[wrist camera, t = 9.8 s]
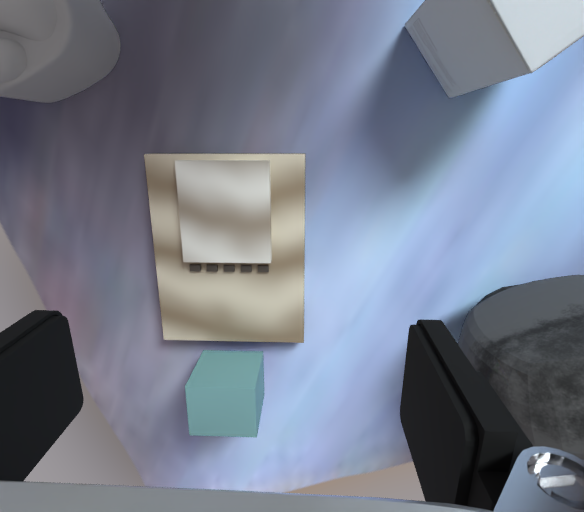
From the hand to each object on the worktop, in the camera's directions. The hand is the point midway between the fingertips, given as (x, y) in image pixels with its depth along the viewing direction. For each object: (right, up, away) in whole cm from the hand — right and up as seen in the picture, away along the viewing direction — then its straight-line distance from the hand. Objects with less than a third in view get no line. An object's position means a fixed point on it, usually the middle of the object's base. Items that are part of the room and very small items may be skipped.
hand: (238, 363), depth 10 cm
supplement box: (+16, +21, +21) cm, 34 cm away
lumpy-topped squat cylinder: (-20, +22, +23) cm, 37 cm away
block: (-4, -9, +29) cm, 30 cm away
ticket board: (-4, +4, +27) cm, 28 cm away
